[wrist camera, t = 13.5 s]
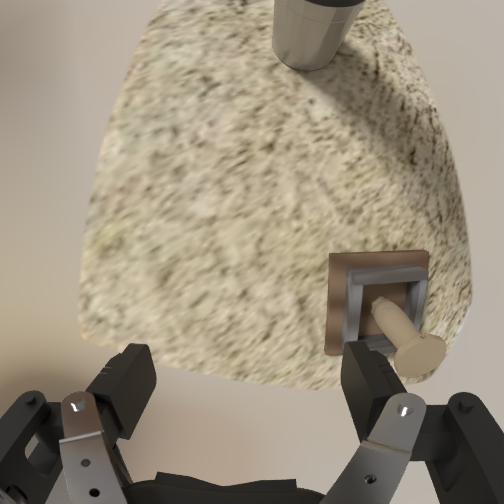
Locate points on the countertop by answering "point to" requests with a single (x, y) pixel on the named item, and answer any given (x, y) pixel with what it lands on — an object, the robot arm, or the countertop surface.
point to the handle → (407, 340)
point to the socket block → (372, 295)
